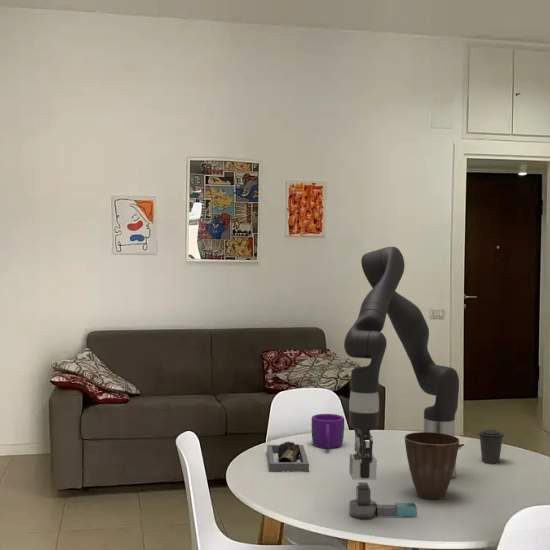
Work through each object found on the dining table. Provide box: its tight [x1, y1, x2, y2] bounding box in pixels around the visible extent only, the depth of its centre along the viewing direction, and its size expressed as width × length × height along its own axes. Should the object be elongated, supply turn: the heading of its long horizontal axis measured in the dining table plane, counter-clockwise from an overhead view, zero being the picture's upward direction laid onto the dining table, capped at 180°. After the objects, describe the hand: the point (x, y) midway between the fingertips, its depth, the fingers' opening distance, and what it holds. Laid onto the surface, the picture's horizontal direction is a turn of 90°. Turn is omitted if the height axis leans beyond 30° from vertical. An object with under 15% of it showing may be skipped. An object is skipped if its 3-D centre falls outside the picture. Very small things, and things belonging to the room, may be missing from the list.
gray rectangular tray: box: [266, 444, 310, 473], centre depth 245 cm, size 12×23×2 cm, turn 2°
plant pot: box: [404, 431, 460, 500], centre depth 212 cm, size 15×15×16 cm
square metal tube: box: [348, 453, 378, 481], centre depth 195 cm, size 6×6×5 cm
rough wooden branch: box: [277, 441, 300, 462], centre depth 244 cm, size 18×7×6 cm, turn 169°
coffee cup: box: [478, 429, 505, 465], centre depth 247 cm, size 8×8×10 cm
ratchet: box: [348, 482, 418, 521], centre depth 196 cm, size 17×7×8 cm, turn 92°
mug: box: [311, 413, 345, 449], centre depth 263 cm, size 17×11×10 cm, turn 176°
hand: (362, 473), depth 195 cm, fingers closed on square metal tube, 6 cm apart
